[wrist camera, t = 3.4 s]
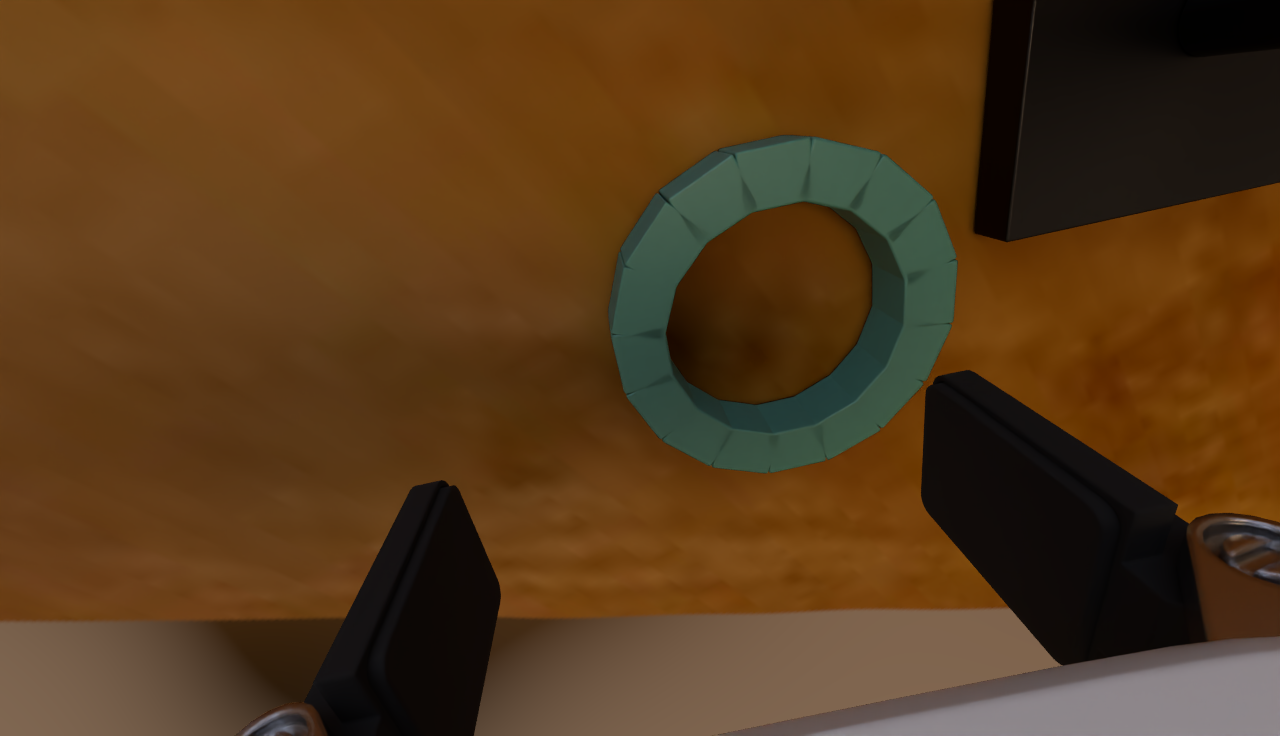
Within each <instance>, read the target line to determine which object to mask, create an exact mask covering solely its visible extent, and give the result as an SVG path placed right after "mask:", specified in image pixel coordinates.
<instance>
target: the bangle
mask: <svg viewBox="0 0 1280 736" xmlns="http://www.w3.org/2000/svg"><path fill="white" fill-rule="evenodd" d="M659 193H660V195H659V194H658V193H656V194H655V196H654V197H653V199H652V200H651V202H650V203H649V205H648V206H647V208H646V210H645V211H644V213H643V214H642V216H641V217H640V219H639V220H638V222H637V223H636V225H635V227H634V228H633V230H632V231H631V233H630V234H629V236H628V237H627V239H626V241H625V242H624V244H623V245H622V247H621V252H619V254H618V260H617V265H616V271H615V276H614V281H613V287H612V292H611V298H610V303H609V309H608V314H609V325H610V332H611V339H612V343H613V347H614V352H615V356H616V360H617V364H618V369H619V373H620V377H621V381H622V385H623V390H624V392H625V393H626V396H627V398H628V400H629V401H630V402H631V403H632V405H633V406H634V407H635V408H636V410H637V411H638V412H639V414H640V415H641V416H642V417H643V419H644V420H645V421H646V422H647V424H648V425H649V426H650V427H651V429H652V430H653V431H654V433H655V434H656V435H657V436H658V438H660V439H662V441H663V442H665V443H667V444H668V445H670V446H672V447H674V448H676V449H678V450H680V451H682V452H684V453H686V454H687V455H689V456H691V457H693V458H695V459H697V460H699V461H701V462H703V463H705V464H706V465H708V466H710V465H712V467H714V468H722V469H731V470H740V471H749V472H758V473H767V472H768V471H769V472H770V473H773V472H777V471H782V470H787V469H791V468H796V467H800V466H805V465H809V464H814V463H818V462H823V461H825V460H826V459H825V457H826V458H827V459H828V460H829V459H831V458H833V457H835V456H836V455H838V454H840V453H842V452H843V451H845V450H847V449H849V448H850V447H852V446H854V445H856V444H857V443H859V442H861V441H863V440H864V439H866V438H868V437H870V436H871V435H873V434H875V433H877V432H878V431H880V429H879V427H881V428H883V427H884V426H885V425H886V424H887V423H888V422H889V421H890V420H891V419H892V418H893V416H894V415H895V414H896V413H897V412H898V411H899V410H900V409H901V408H902V407H903V406H904V405H905V404H906V403H907V402H908V401H909V399H910V398H911V397H912V396H913V395H914V394H915V393H916V392H917V391H918V390H919V389H920V388H921V387H922V386H923V382H922V381H926V380H927V378H928V376H929V374H930V372H931V370H932V367H933V365H934V363H935V361H936V359H937V357H938V355H939V352H940V350H941V348H942V346H943V344H944V342H945V340H946V337H947V335H948V333H949V331H950V329H951V327H952V325H951V324H950V323H952V322H953V318H954V305H955V291H956V277H957V264H958V262H957V260H955V258H956V253H955V251H954V248H953V245H952V243H951V240H950V237H949V235H948V232H947V229H946V227H945V224H944V221H943V219H942V216H941V213H940V211H939V208H938V205H937V203H936V201H935V200H934V199H932V198H933V196H932V195H931V194H930V193H929V192H928V191H927V190H926V189H924V188H923V187H922V186H921V185H920V184H919V183H918V182H916V181H915V180H914V179H913V178H912V177H911V176H910V175H908V174H907V173H906V172H905V171H904V170H903V169H902V168H900V167H899V166H898V165H897V164H896V163H895V162H894V161H892V160H891V159H890V158H889V157H888V156H887V155H884V154H881V153H880V152H878V151H874V150H870V149H866V148H861V147H857V146H853V145H849V144H844V143H840V142H836V141H831V140H827V139H823V138H819V137H810V136H794V135H790V136H789V135H781V136H776V137H772V138H767V139H763V140H758V141H753V142H749V143H744V144H740V145H735V146H730V147H726V148H721V149H719V151H718V152H717V151H714V152H712V153H711V154H710V155H708V156H707V157H705V158H704V159H703V160H701V161H700V162H698V163H697V164H695V165H694V166H693V167H691V168H690V169H688V170H687V171H686V172H684V173H683V174H681V175H680V176H679V177H677V178H676V179H674V180H673V181H671V182H670V183H669V184H667V185H666V186H664V187H663V188H662V189H660V190H659ZM799 202H808V203H813V204H817V205H822V206H827V207H830V208H831V209H832V210H834V211H835V212H836V213H837V214H839V215H840V216H841V217H842V218H844V219H845V220H846V221H847V222H849V223H850V224H851V225H852V226H854V227H855V228H856V230H857V232H858V234H859V236H860V238H861V240H862V243H863V245H864V247H865V249H866V251H867V254H868V256H869V258H870V260H871V262H872V308H871V310H870V313H869V315H868V318H867V320H866V323H865V325H864V328H863V330H862V333H861V335H860V338H859V340H858V343H857V345H856V346H855V347H854V348H853V349H852V351H851V352H850V353H849V354H848V355H847V356H846V357H845V359H844V360H843V361H842V362H841V363H840V364H839V366H838V367H837V368H836V369H835V370H834V371H833V373H832V374H831V375H830V376H828V377H826V378H825V379H823V380H821V381H820V382H818V383H816V384H815V385H813V386H811V387H810V388H808V389H806V390H805V391H803V392H801V393H800V394H798V395H796V396H795V397H791V398H786V399H782V400H777V401H773V402H768V403H764V404H759V405H752V404H744V403H737V402H730V401H722V400H717V399H716V398H714V397H712V396H710V395H709V394H707V393H705V392H704V391H702V390H700V389H698V388H697V387H695V386H693V385H692V384H690V383H688V382H687V381H686V380H685V378H684V377H683V376H682V374H681V373H680V371H679V370H678V369H677V367H676V366H675V364H674V363H673V362H672V360H671V358H670V353H669V347H668V342H667V337H666V330H667V326H668V321H669V317H670V313H671V309H672V304H673V300H674V296H675V292H676V287H677V285H678V284H679V282H680V281H681V279H682V278H683V277H684V275H685V274H686V272H687V271H688V269H689V268H690V267H691V265H692V264H693V262H694V261H695V259H696V258H697V257H698V255H699V254H700V252H701V251H702V249H703V248H704V247H705V245H706V244H707V243H708V242H709V241H711V240H712V239H714V238H715V237H717V236H718V235H720V234H721V233H723V232H724V231H725V230H727V229H728V228H730V227H731V226H733V225H734V224H736V223H737V222H739V221H740V220H742V219H743V218H745V217H746V216H748V215H749V214H751V213H753V212H758V211H762V210H767V209H771V208H776V207H781V206H785V205H790V204H794V203H799ZM878 426H879V427H878Z"/></svg>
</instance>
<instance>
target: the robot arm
mask: <svg viewBox="0 0 1280 736" xmlns="http://www.w3.org/2000/svg"><path fill="white" fill-rule="evenodd" d="M921 498H922V502H923V504H924V507H925V509H926V511H927V512H928V513H929V515H930V516H931V517H932V518H933V519H934V520H935V522H936V523H937V524H938V525H939V526H940V527H941V529H942V530H943V531H944V532H945V533H946V534H947V535H948V537H949V538H950V539H951V540H952V541H953V542H954V544H955V545H956V546H957V547H958V548H959V549H960V551H961V552H962V553H963V554H964V555H965V556H966V558H967V559H968V560H969V561H970V562H971V563H972V565H973V566H974V567H975V568H976V569H977V570H978V572H979V573H980V574H981V575H982V576H983V577H984V579H985V580H986V581H987V582H988V583H989V584H990V585H991V587H992V588H993V589H994V590H995V591H996V592H997V594H998V595H999V596H1000V597H1001V598H1002V599H1003V601H1004V602H1005V603H1006V604H1007V605H1008V606H1009V608H1010V609H1011V610H1012V611H1013V612H1014V613H1015V614H1016V616H1017V617H1018V618H1019V619H1020V620H1021V622H1022V623H1023V624H1024V625H1025V626H1026V627H1027V628H1028V630H1029V631H1030V632H1031V633H1032V634H1033V635H1034V637H1035V638H1036V639H1037V640H1038V641H1039V642H1040V644H1041V645H1042V646H1043V647H1044V648H1045V649H1046V651H1047V652H1048V653H1049V654H1050V655H1051V656H1052V657H1053V658H1054V659H1055V660H1056V661H1057V662H1058V663H1060V664H1061V665H1063V666H1059V667H1053V668H1048V669H1043V670H1038V671H1034V672H1028V673H1023V674H1018V675H1013V676H1008V677H1003V678H998V679H993V680H987V681H983V682H977V683H972V684H967V685H963V686H957V687H952V688H947V689H942V690H937V691H932V692H926V693H921V694H916V695H911V696H906V697H901V698H896V699H891V700H886V701H881V702H876V703H871V704H866V705H862V706H856V707H852V708H847V709H842V710H837V711H832V712H827V713H822V714H817V715H812V716H807V717H802V718H797V719H792V720H787V721H782V722H777V723H773V724H768V725H763V726H758V727H753V728H748V729H743V730H738V731H733V732H728V733H724V734H718V735H714V736H1280V523H1279V522H1276V521H1272V520H1268V519H1264V518H1260V517H1256V516H1251V515H1243V514H1234V513H1215V514H1208V515H1204V516H1201V517H1197V518H1195V519H1194V520H1193V521H1192V522H1191V523H1190V524H1188V523H1187V522H1185V521H1184V520H1182V519H1181V518H1180V517H1178V516H1177V515H1175V513H1176V510H1177V506H1178V504H1176V503H1174V502H1173V501H1171V500H1170V499H1168V498H1167V497H1165V496H1164V495H1162V494H1161V493H1159V492H1158V491H1156V490H1154V489H1153V488H1151V487H1150V486H1148V485H1147V484H1145V483H1144V482H1142V481H1141V480H1139V479H1138V478H1136V477H1135V476H1133V475H1131V474H1130V473H1128V472H1127V471H1125V470H1124V469H1122V468H1121V467H1119V466H1118V465H1116V464H1115V463H1113V462H1111V461H1110V460H1108V459H1107V458H1105V457H1104V456H1102V455H1101V454H1099V453H1098V452H1096V451H1095V450H1093V449H1091V448H1090V447H1088V446H1087V445H1085V444H1084V443H1082V442H1081V441H1079V440H1078V439H1076V438H1075V437H1073V436H1071V435H1070V434H1068V433H1067V432H1065V431H1064V430H1062V429H1061V428H1059V427H1058V426H1056V425H1055V424H1053V423H1051V422H1050V421H1048V420H1047V419H1045V418H1044V417H1042V416H1041V415H1039V414H1038V413H1036V412H1035V411H1033V410H1031V409H1030V408H1028V407H1027V406H1025V405H1024V404H1022V403H1021V402H1019V401H1018V400H1016V399H1015V398H1013V397H1012V396H1010V395H1008V394H1007V393H1005V392H1004V391H1002V390H1001V389H999V388H998V387H996V386H995V385H993V384H992V383H990V382H988V381H987V380H985V379H984V378H982V377H981V376H979V375H978V374H976V373H975V372H972V371H970V370H965V371H960V372H956V373H951V374H946V375H941V376H938V377H936V378H935V380H934V382H933V385H930V386H929V387H928V388H927V390H926V397H925V419H924V441H923V463H922V484H921ZM500 599H501V592H500V585H499V582H498V579H497V577H496V575H495V572H494V570H493V568H492V565H491V563H490V561H489V559H488V556H487V554H486V552H485V549H484V547H483V545H482V542H481V540H480V538H479V535H478V533H477V531H476V528H475V526H474V524H473V521H472V519H471V517H470V514H469V512H468V510H467V507H466V505H465V503H464V500H463V498H462V496H461V494H460V491H459V489H458V488H457V487H456V486H454V485H453V486H449V485H448V484H447V483H446V482H445V481H443V480H441V481H436V482H431V483H427V484H422V485H417V486H414V487H412V489H411V490H410V492H409V494H408V496H407V498H406V500H405V502H404V504H403V506H402V508H401V510H400V512H399V514H398V516H397V518H396V520H395V521H394V523H393V525H392V527H391V529H390V531H389V533H388V535H387V537H386V539H385V541H384V543H383V545H382V547H381V549H380V551H379V553H378V555H377V557H376V559H375V561H374V563H373V565H372V567H371V569H370V571H369V573H368V575H367V577H366V579H365V581H364V583H363V585H362V587H361V589H360V591H359V593H358V595H357V597H356V599H355V601H354V603H353V605H352V607H351V608H350V610H349V612H348V614H347V616H346V618H345V620H344V622H343V624H342V626H341V628H340V630H339V632H338V634H337V636H336V638H335V640H334V642H333V644H332V646H331V648H330V650H329V652H328V654H327V656H326V658H325V660H324V662H323V664H322V666H321V668H320V670H319V672H318V674H317V676H316V678H315V680H314V682H313V685H312V688H311V689H310V691H309V693H308V695H307V697H306V699H305V701H304V703H303V702H296V703H288V704H284V705H282V706H279V707H277V708H274V709H272V710H270V711H268V712H266V713H264V714H263V715H261V716H260V717H258V718H256V719H255V720H253V721H251V722H250V723H249V724H248V725H247V726H245V727H244V728H243V729H242V730H241V731H240V732H238V733H237V734H236V735H235V736H474V731H475V726H476V721H477V716H478V711H479V706H480V701H481V696H482V691H483V686H484V681H485V676H486V671H487V665H488V661H489V656H490V651H491V646H492V641H493V635H494V630H495V626H496V620H497V616H498V611H499V606H500Z"/></svg>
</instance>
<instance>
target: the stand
mask: <svg viewBox="0 0 1280 736" xmlns="http://www.w3.org/2000/svg"><path fill="white" fill-rule="evenodd" d="M1279 182H1280V0H994V6H993V18H992V29H991V41H990V53H989V65H988V76H987V88H986V100H985V112H984V123H983V135H982V147H981V159H980V170H979V182H978V194H977V206H976V217H975V229H974V232H975V233H976V234H980V235H983V236H987V237H990V238H994V239H997V240H1001V241H1004V242H1010V241H1015V240H1019V239H1024V238H1028V237H1033V236H1037V235H1042V234H1047V233H1051V232H1056V231H1060V230H1065V229H1069V228H1074V227H1078V226H1083V225H1088V224H1092V223H1097V222H1101V221H1106V220H1110V219H1115V218H1120V217H1124V216H1129V215H1133V214H1138V213H1142V212H1147V211H1151V210H1156V209H1161V208H1165V207H1170V206H1174V205H1179V204H1183V203H1188V202H1193V201H1197V200H1202V199H1206V198H1211V197H1215V196H1220V195H1224V194H1229V193H1234V192H1238V191H1243V190H1247V189H1252V188H1256V187H1261V186H1266V185H1270V184H1275V183H1279Z"/></svg>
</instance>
